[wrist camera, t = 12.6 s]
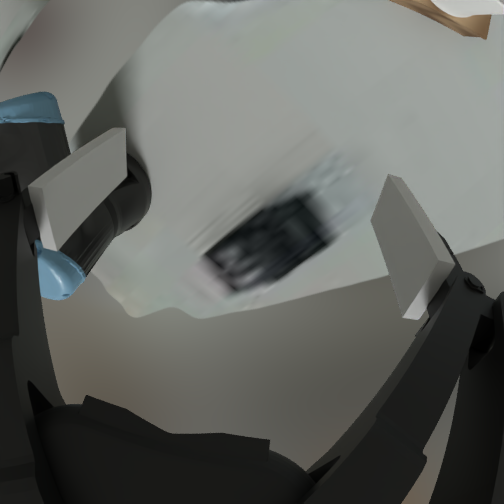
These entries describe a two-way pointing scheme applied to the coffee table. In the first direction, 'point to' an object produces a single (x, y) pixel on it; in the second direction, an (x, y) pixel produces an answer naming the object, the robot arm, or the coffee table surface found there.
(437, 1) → the mug
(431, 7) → the walnut box
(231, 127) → the coffee table surface
